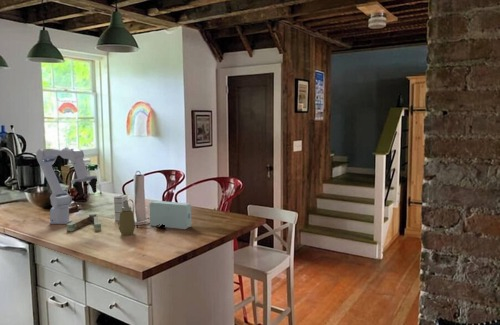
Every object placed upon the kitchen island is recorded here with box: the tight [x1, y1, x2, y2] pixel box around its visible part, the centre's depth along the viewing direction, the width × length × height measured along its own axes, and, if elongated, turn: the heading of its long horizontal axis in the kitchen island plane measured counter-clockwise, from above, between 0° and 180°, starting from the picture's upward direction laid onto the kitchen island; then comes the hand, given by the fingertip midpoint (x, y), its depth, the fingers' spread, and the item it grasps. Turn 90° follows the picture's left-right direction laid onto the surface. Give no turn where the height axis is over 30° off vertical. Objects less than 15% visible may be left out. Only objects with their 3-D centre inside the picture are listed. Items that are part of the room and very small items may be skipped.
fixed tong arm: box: [88, 213, 102, 232], centre depth 223 cm, size 22×6×4 cm, turn 23°
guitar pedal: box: [149, 200, 192, 230], centre depth 222 cm, size 23×6×13 cm, turn 71°
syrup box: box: [113, 194, 129, 222], centre depth 236 cm, size 6×6×14 cm
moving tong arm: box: [66, 215, 90, 232], centre depth 221 cm, size 18×3×4 cm, turn 173°
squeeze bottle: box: [118, 200, 136, 237], centre depth 206 cm, size 8×8×18 cm
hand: (89, 193), depth 217 cm, fingers open, 7 cm apart
